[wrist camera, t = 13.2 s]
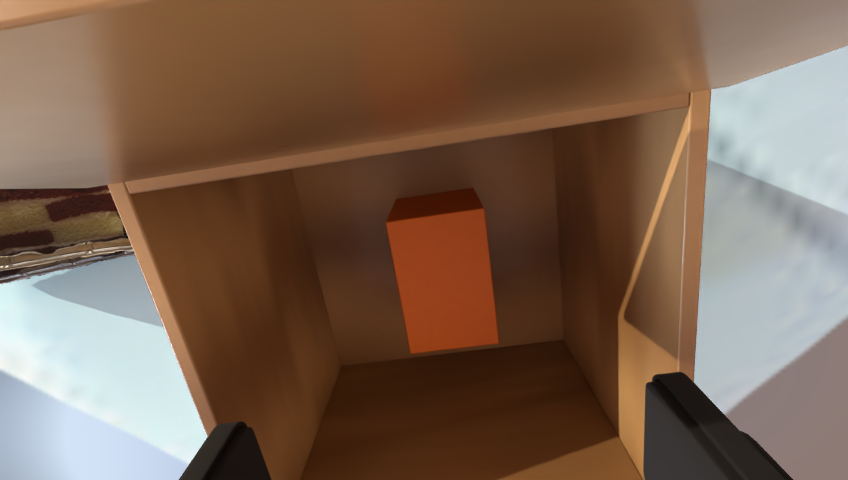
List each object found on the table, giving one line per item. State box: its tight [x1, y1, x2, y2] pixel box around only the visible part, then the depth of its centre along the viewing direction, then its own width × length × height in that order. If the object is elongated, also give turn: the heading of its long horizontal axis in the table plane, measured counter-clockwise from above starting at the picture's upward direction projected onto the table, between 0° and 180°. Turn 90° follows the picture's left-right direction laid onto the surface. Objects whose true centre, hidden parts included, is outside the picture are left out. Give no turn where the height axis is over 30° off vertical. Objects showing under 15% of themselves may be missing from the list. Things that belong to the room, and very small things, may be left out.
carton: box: [108, 89, 711, 480], centre depth 18 cm, size 15×16×12 cm
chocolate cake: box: [0, 185, 135, 284], centre depth 22 cm, size 10×7×12 cm
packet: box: [386, 188, 499, 354], centre depth 21 cm, size 7×4×5 cm, turn 9°
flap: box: [0, 0, 848, 189], centre depth 6 cm, size 7×15×1 cm
